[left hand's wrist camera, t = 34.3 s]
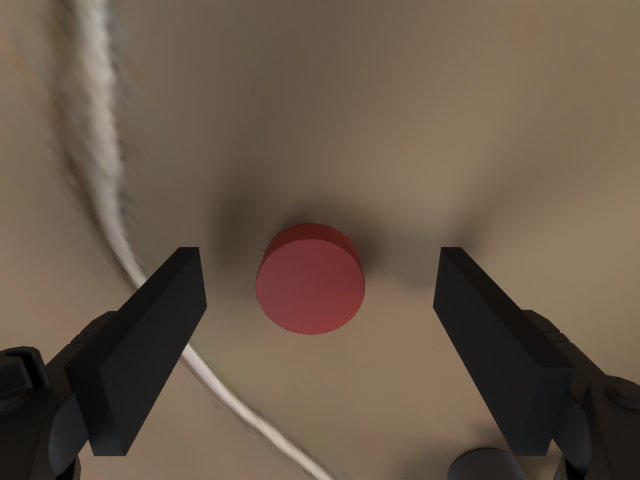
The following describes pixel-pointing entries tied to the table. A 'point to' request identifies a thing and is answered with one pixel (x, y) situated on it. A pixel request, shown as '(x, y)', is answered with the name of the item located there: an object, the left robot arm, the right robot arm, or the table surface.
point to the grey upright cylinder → (486, 466)
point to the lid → (310, 279)
